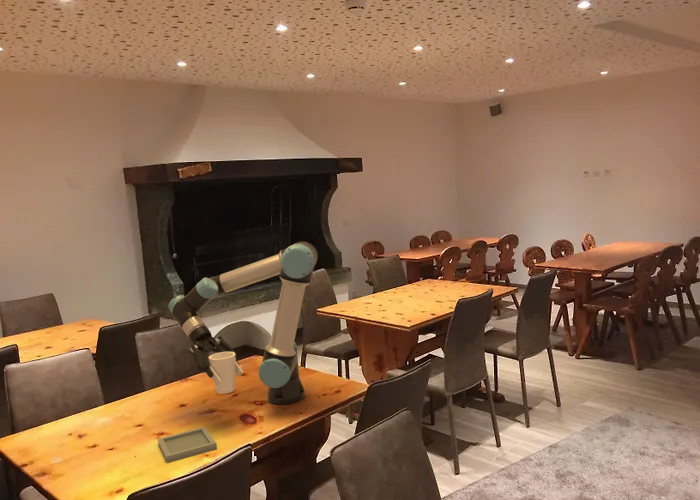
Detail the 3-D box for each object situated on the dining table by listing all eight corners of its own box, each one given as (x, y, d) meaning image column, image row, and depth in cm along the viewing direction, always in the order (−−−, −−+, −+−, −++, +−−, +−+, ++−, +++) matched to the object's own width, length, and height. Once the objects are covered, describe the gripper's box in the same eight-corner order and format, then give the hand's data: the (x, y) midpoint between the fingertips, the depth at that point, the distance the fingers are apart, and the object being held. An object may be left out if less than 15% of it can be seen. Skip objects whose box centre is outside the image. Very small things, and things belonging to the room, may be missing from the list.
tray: (205, 432, 202) (204, 426, 201) (216, 448, 188) (216, 443, 187) (158, 444, 194) (157, 438, 194) (166, 462, 180) (166, 456, 180)
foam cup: (226, 384, 212) (223, 350, 210) (244, 387, 206) (240, 353, 205) (207, 393, 204) (202, 358, 203) (224, 396, 199) (220, 360, 197)
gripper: (216, 330, 221) (248, 375, 214) (168, 345, 204) (201, 395, 196) (224, 318, 218) (257, 363, 210) (175, 332, 200) (209, 382, 192)
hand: (230, 378), depth 203 cm, fingers closed on foam cup, 9 cm apart
